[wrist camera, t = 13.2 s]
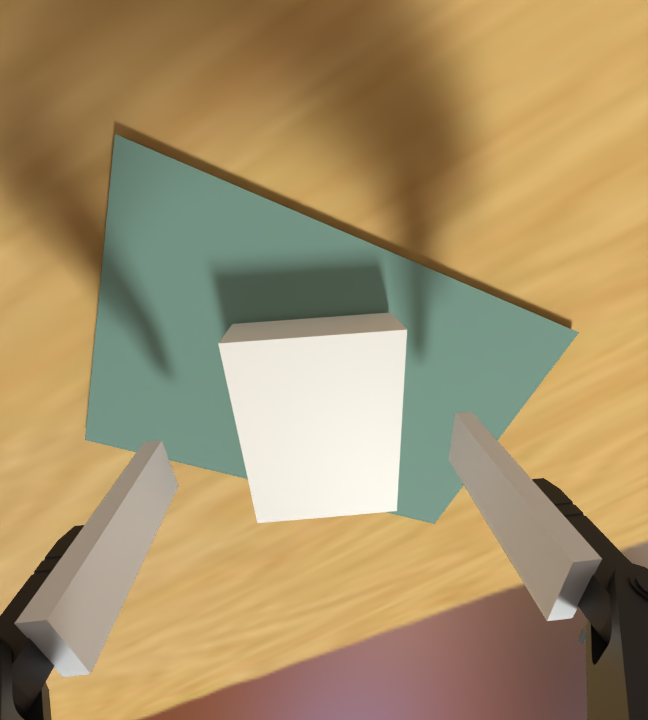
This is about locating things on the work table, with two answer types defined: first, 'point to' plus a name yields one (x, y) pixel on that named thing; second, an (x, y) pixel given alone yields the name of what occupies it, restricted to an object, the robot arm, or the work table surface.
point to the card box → (318, 413)
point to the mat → (283, 302)
